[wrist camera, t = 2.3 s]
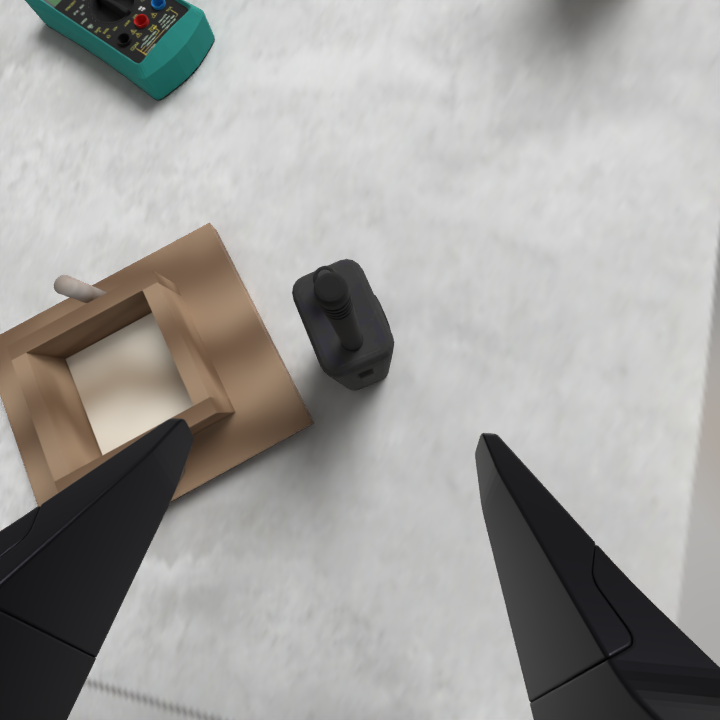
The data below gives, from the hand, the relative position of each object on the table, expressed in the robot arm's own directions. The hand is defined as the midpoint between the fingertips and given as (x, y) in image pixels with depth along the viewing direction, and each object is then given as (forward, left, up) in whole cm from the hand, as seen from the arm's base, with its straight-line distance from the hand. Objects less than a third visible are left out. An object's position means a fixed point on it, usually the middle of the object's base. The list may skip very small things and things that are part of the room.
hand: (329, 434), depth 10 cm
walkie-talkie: (+4, +1, -12) cm, 13 cm away
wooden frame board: (-1, +15, -12) cm, 19 cm away
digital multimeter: (+27, +26, -12) cm, 40 cm away
